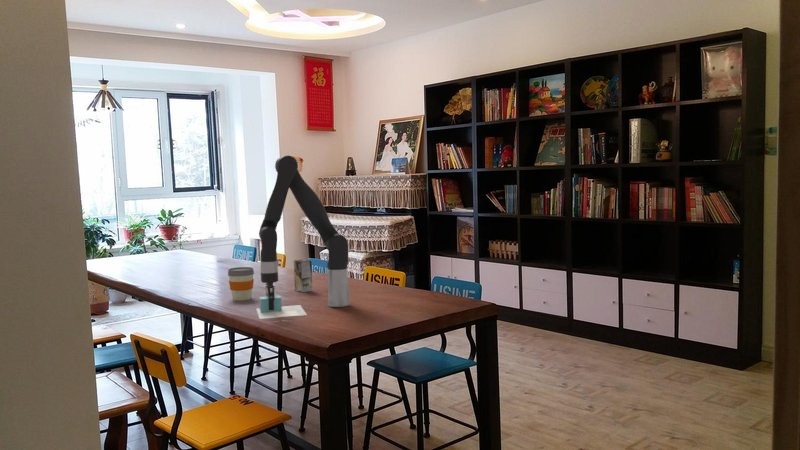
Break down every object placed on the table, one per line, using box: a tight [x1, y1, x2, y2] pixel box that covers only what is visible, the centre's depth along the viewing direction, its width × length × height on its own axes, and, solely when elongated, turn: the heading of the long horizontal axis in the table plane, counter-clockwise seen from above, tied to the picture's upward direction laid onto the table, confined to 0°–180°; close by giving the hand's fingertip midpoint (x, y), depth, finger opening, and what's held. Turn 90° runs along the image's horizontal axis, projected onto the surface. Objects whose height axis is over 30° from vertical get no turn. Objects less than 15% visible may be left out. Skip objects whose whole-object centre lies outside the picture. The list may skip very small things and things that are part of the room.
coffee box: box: [293, 258, 313, 293], centre depth 323 cm, size 9×6×16 cm
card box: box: [259, 294, 282, 313], centre depth 272 cm, size 9×6×6 cm, turn 107°
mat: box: [255, 304, 308, 320], centre depth 270 cm, size 20×22×1 cm
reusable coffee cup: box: [227, 266, 255, 301], centre depth 304 cm, size 12×13×15 cm
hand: (270, 308), depth 272 cm, fingers closed on card box, 6 cm apart
